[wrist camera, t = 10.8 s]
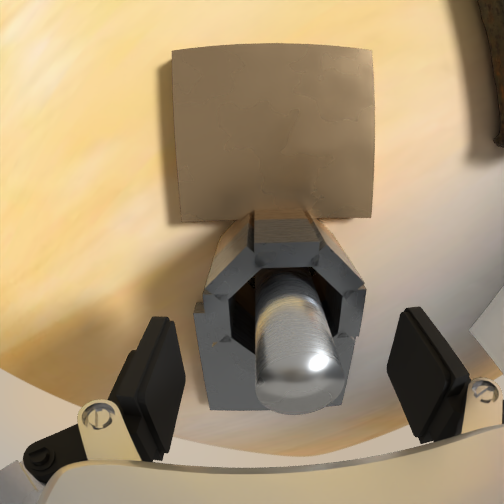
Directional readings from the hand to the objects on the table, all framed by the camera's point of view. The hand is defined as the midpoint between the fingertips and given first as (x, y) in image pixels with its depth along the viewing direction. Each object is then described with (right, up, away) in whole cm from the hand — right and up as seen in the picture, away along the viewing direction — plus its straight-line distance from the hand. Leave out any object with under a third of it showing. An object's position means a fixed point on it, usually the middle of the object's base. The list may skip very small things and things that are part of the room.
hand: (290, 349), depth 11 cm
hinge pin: (0, +3, +7) cm, 8 cm away
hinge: (0, +3, +7) cm, 8 cm away
